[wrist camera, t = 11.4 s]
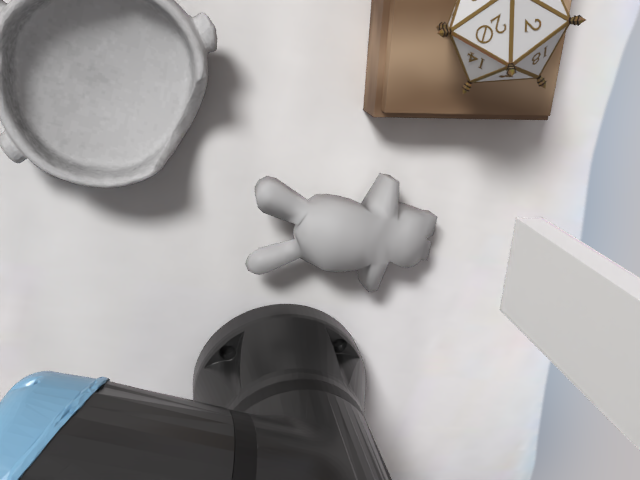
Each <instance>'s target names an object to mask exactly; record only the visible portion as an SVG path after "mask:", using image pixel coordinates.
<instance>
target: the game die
mask: <svg viewBox="0 0 640 480" xmlns="http://www.w3.org/2000/svg"><path fill="white" fill-rule="evenodd" d="M585 20H586V19H584V18H582V17H581V16H580V15H578V16H574V17H572V18H571V17H570V15H569V12H568V10H567V8H566V6H565V3H564V1H563V0H456V2H455V4H454V7H453V10H452V12H451V15H450V18H449V20H448V23H445V22H444V23H442V22H441V23H440V24H439V25H438V26H436V27H437V28H439V30H440V31H439V32H438V33H437V34H439V35H440V36H442V37H444V36H446V37H447V36H448V35H449V36H450V38H451V41H452V43H453V45H454V48H455V50H456V53H457V55H458V58H459V60H460V63H461V65H462V68H463V70H464V73H465V75H466V78H467V80H468V81H467V82H466V83H465V84H464V86H463V87H462V89H463V94H464V93H466V92H468V91H469V89H470V88H471V84H472V83H482V82H496V81H510V80H524V79H537V83H538V84H539V85H538V86H539V87H540V86H541V87H543V88H545V89H546V81H545V80H544V79H545V78H543V77H541V74H542V72H543V70H544V69H545V67H546V65H547V63H548V62H549V60H550V58H551V56H552V55H553V53H554V51H555V49H556V47H557V46H558V44H559V42H560V40H561V39H562V37H563V35H564V33H565V32H566V30H567V28H568V26H569V25H570V24H574V25H578V26H579V25H580V24H581V23H582V22H584V21H585Z"/></svg>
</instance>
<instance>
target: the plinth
mask: <svg viewBox="0 0 640 480" xmlns="http://www.w3.org/2000/svg"><path fill="white" fill-rule="evenodd" d="M563 1H564V3H565V6H566V8H567V10H568V12H570V6H571V1H572V0H563ZM455 2H456V0H372V2H371V16H370V29H369V42H368V55H367V68H366V82H365V95H364V108H363V110H364V111H365V112H367V113H368V114H370V115H372V116H373V117H400V118H457V119H514V120H548V116H550V113H551V107H552V102H553V97H554V91H555V86H556V81H557V75H558V70H559V65H560V60H561V54H562V49H563V44H564V38H565V33H566V32H565V33H564V35H563V37H562V39H561V40H560V42H559V44H558V46H557V47H556V49H555V51H554V53H553V55H552V56H551V58H550V60H549V62H548V63H547V65H546V67H545V69H544V70H543V72H542V74H541V77H543V78H545V79H544V80H545V81H546V89H545V88H543V87H541V86H540V87H539V86H538V85H539V84H538V83H537V79H524V80H510V81H496V82H482V83H472V84H471V88H470V89H469V91H468V92H466V93H464V94H463V89H462V87H463V86H464V84H465V83H466V82H467V81H468V80H467V78H466V75H465V73H464V70H463V68H462V65H461V63H460V60H459V58H458V55H457V53H456V50H455V48H454V45H453V43H452V41H451V38H450V36H449V35H448V36H447V37H446V36H444V37H442V36H440V35H439V34H437V33H438V32H439V31H440V30H439V28H437V27H436V26H438V25H439V24H440V23H441V22H442V23H444V22H445V23H448V20H449V18H450V15H451V12H452V10H453V7H454V4H455Z"/></svg>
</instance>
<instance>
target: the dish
mask: <svg viewBox="0 0 640 480" xmlns="http://www.w3.org/2000/svg"><path fill="white" fill-rule="evenodd" d="M216 49H217V35H216V29H215V26H214V25H213V23H212V21H211V20H210V18H209V17H208V16H207V15H206V14H205V13H200V14H198V15H197V16H195V17H191V16H189V15H188V14H187V13H186V12H185V11H184V10H183V9H182V8H181V7H180V6H179V4H178V3H176V2H175V1H174V0H11V1H10V2H9V3H8V4H7V3H5V2H4V1H3V0H0V121H1V123H2V125H3V126H4V128H5V131H4V132H3V133H1V134H0V146H1V148H2V149H3V151H4V153H5V154H6V155H7V156H8V157H9V158H10V159H11V160H12V161H14V162H16V163H21V162H23V161H24V160H25V159H27V158H28V159H29V160H30V161H31V162H32V163H33V164H35V165H36V166H37V167H39V168H40V169H41V170H43V171H45V172H47V173H49V174H50V175H52V176H54V177H57V178H59V179H62V180H65V181H68V182H71V183H74V184H79V185H83V186H90V187H100V188H114V187H122V186H127V185H131V184H135V183H138V182H141V181H143V180H146V179H148V178H150V177H152V176H154V175H155V174H156V173H158V172H159V171H160V170H161V169H163V167H164V166H165V164H166V162H167V161H168V159H169V158H170V157H171V156H172V154H173V153H174V152H175V149H176V148H177V146H178V145H179V144H180V142H181V140H182V138H183V137H184V135H185V134H186V132H187V131H188V129H189V127H190V126H191V124H192V122H193V120H194V118H195V116H196V114H197V112H198V110H199V108H200V105H201V103H202V100H203V97H204V95H205V91H206V87H207V82H208V58H207V55H208V53H209V52H213V51H216Z"/></svg>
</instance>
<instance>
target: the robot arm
mask: <svg viewBox="0 0 640 480" xmlns="http://www.w3.org/2000/svg"><path fill="white" fill-rule="evenodd" d="M500 311H501V312H502V313H503V314H504V315H505V316H506V317H507V318H508V319H509V320H510V321H511V322H512V323H513V324H514V325H515V326H516V327H517V328H518V329H519V330H520V331H521V332H522V333H523V334H524V335H525V336H526V337H527V338H528V339H529V340H530V341H531V342H532V343H533V344H534V345H535V346H536V347H537V348H538V349H539V350H540V351H541V352H542V353H543V354H544V355H545V356H546V357H547V358H548V359H549V360H550V361H551V362H552V363H553V364H554V365H555V366H556V367H557V368H558V369H559V370H560V371H561V372H562V373H563V374H564V375H565V376H566V377H567V378H568V379H569V380H570V381H571V382H572V383H573V384H574V385H575V386H576V387H577V388H578V389H579V390H580V391H581V392H582V393H583V394H584V395H585V396H586V397H587V398H588V399H589V400H590V401H591V402H592V403H593V404H594V405H595V406H596V407H597V408H598V409H599V410H600V411H601V412H602V413H603V414H604V415H605V416H606V417H607V418H608V419H609V420H610V421H611V422H612V423H613V424H614V425H615V427H617V429H618V430H619V431H620V432H621V433H622V434H623V435H625V437H626V438H627V439H628V440H629V441H631V443H632V444H633V445H634V446H635V447H636V448H637V449H638V450H639V451H640V278H639V277H638V276H636V275H634V274H633V273H631V272H630V271H628V270H626V269H625V268H623V267H622V266H620V265H618V264H617V263H615V262H613V261H611V260H610V259H609V258H607V257H605V256H604V255H602V254H601V253H599V252H597V251H596V250H594V249H592V248H591V247H589V246H588V245H586V244H584V243H583V242H581V241H580V240H578V239H576V238H575V237H573V236H571V235H570V234H568V233H567V232H565V231H563V230H562V229H560V228H559V227H557V226H555V225H554V224H552V223H550V222H549V221H547V220H546V219H544V218H542V217H528V218H516V220H515V226H514V231H513V237H512V243H511V248H510V254H509V259H508V265H507V271H506V276H505V282H504V287H503V293H502V299H501V304H500ZM365 391H366V374H365V368H364V364H363V360H362V358H361V355H360V353H359V351H358V349H357V346H356V344H355V342H354V340H353V338H352V337H351V335H350V334H349V333H348V331H347V330H346V329H345V328H344V327H343V326H342V325H341V324H340V323H339V322H338V321H337V320H335V319H334V318H332V317H331V316H329V315H328V314H326V313H324V312H322V311H319V310H317V309H314V308H311V307H307V306H302V305H295V304H276V305H269V306H264V307H260V308H256V309H253V310H250V311H248V312H245V313H243V314H241V315H239V316H237V317H235V318H234V319H232V320H230V321H229V322H228V323H226V324H225V325H224V326H222V327H221V328H220V329H219V330H218V331H217V332H216V333H215V334H214V335H213V336H212V337H211V338H210V339H209V341H208V342H207V343H206V345H205V346H204V348H203V350H202V351H201V353H200V355H199V357H198V360H197V363H196V366H195V370H194V376H193V400H188V399H184V398H179V397H175V396H170V395H166V394H161V393H157V392H152V391H148V390H143V389H139V388H135V387H131V386H127V385H122V384H118V383H114V382H110V379H109V378H105V377H100V378H97V379H95V378H89V377H83V376H76V375H70V374H64V373H58V372H53V371H42V372H37V373H34V374H31V375H29V376H26V377H25V378H23V379H21V380H20V381H19V382H18V383H16V384H15V385H14V386H13V387H12V388H11V389H10V390H9V391H8V393H7V394H6V395H5V396H4V398H3V399H2V400H1V402H0V480H392V479H391V477H390V475H389V473H388V470H387V468H386V466H385V463H384V461H383V459H382V457H381V454H380V452H379V450H378V448H377V445H376V443H375V441H374V438H373V436H372V434H371V432H370V429H369V427H368V425H367V423H366V420H365V418H364V406H365Z"/></svg>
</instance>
